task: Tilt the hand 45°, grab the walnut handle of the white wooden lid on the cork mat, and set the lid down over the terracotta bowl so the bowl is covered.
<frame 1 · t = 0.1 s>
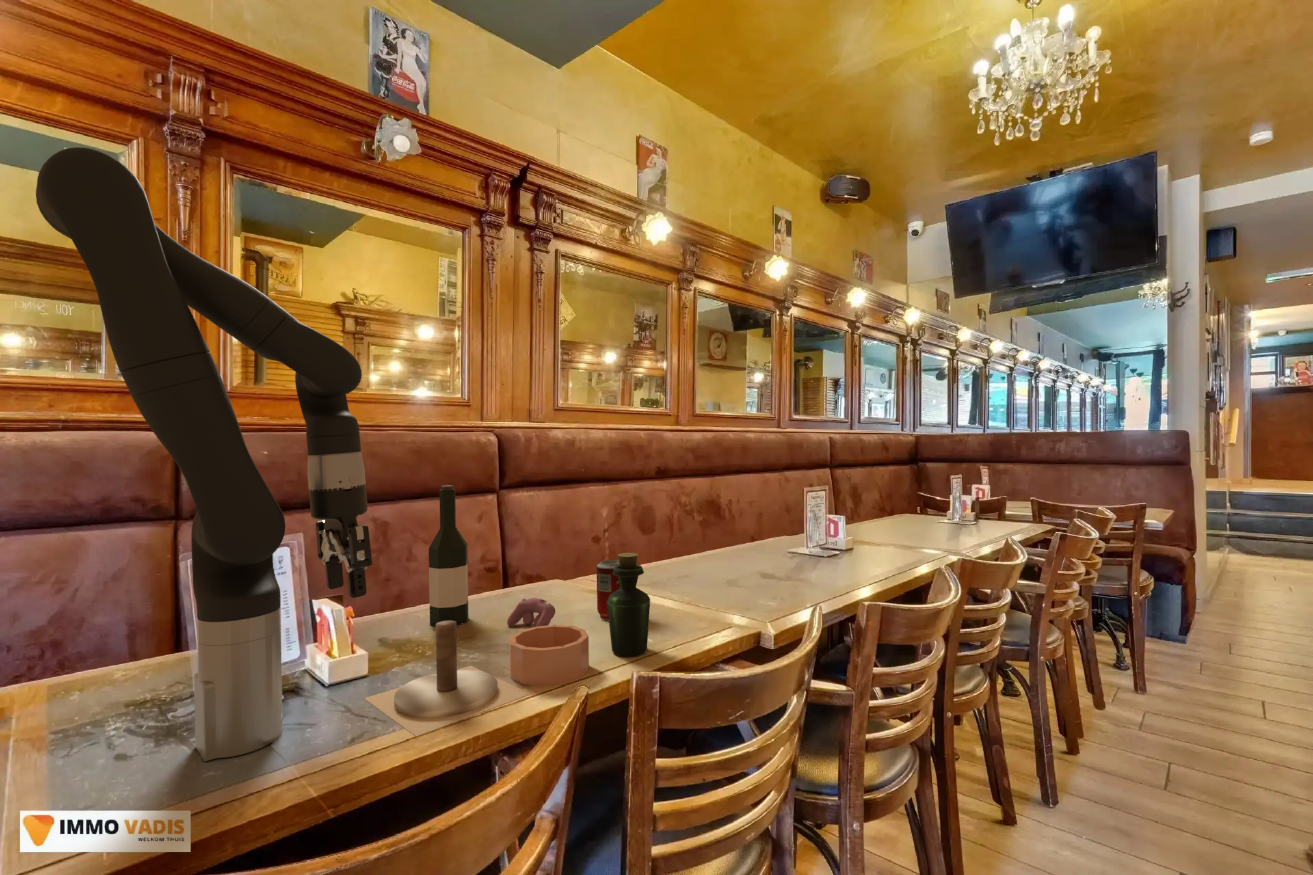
hand: (346, 591, 91), 17 cm above the table, tool pointing down, fingers open, 8 cm apart
potion bottle: (629, 652, 113), on the table
lid: (447, 696, 94), resting on cork mat
cork mat: (447, 698, 94), on the table
soda can: (613, 617, 136), on the table
wine bottle: (449, 622, 134), on the table
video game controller: (531, 627, 130), on the table
bowl: (549, 671, 104), on the table
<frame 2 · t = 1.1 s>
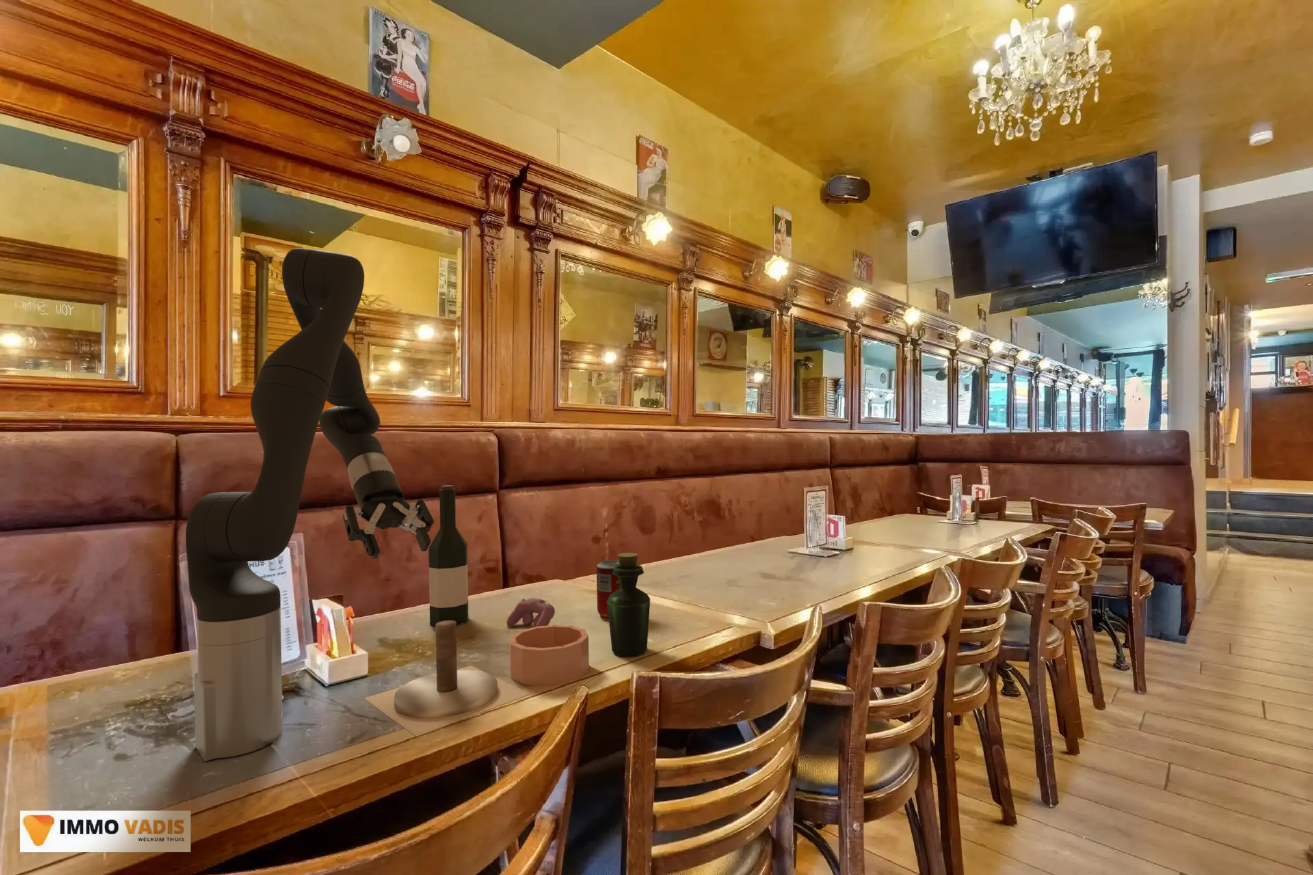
hand: (402, 551, 105), 21 cm above the table, tool tilted 45°, fingers open, 8 cm apart
nothing on the table moved.
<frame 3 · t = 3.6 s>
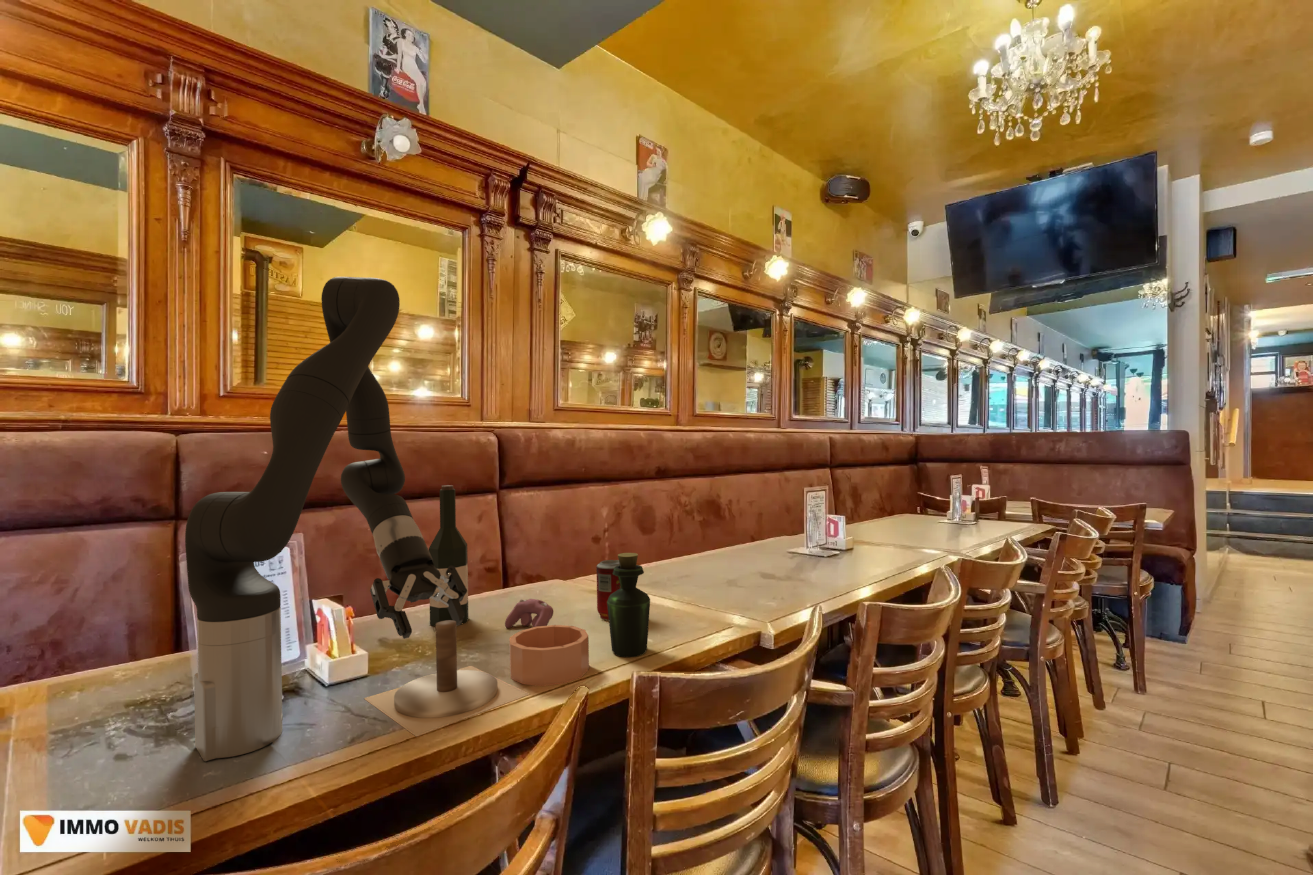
hand: (434, 628, 96), 10 cm above the table, tool tilted 45°, fingers open, 8 cm apart
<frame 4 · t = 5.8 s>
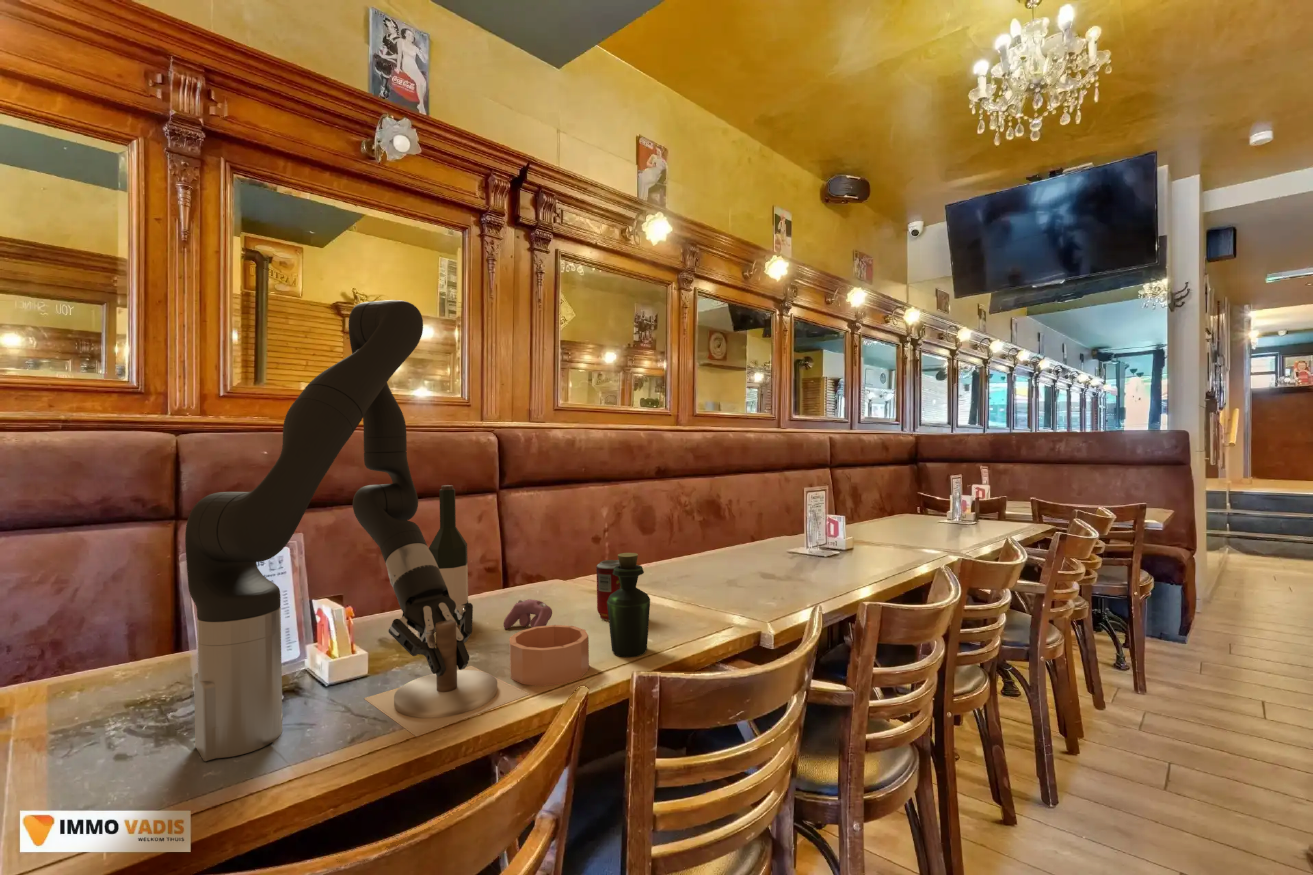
hand: (453, 669, 92), 5 cm above the table, tool tilted 45°, fingers closed on lid, 3 cm apart
lid: (447, 695, 94), resting on cork mat, touching gripper
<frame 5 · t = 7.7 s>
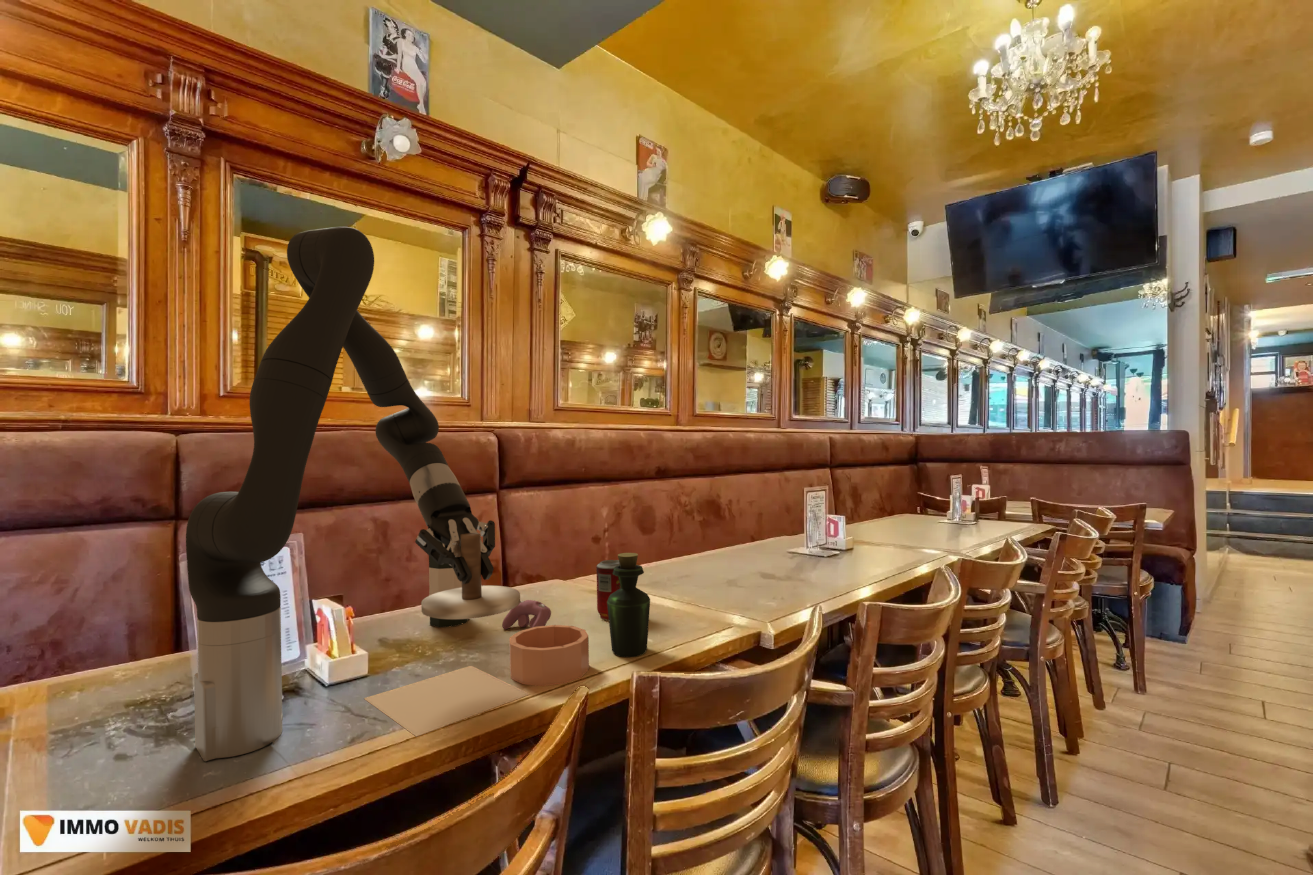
hand: (478, 578, 95), 18 cm above the table, tool tilted 45°, fingers closed on lid, 3 cm apart
lid: (472, 604, 97), point 14 cm above the table, touching gripper
when the fingers open (12 cm above the table, at t = 9.9 s): lid drops 1 cm, resting on bowl.
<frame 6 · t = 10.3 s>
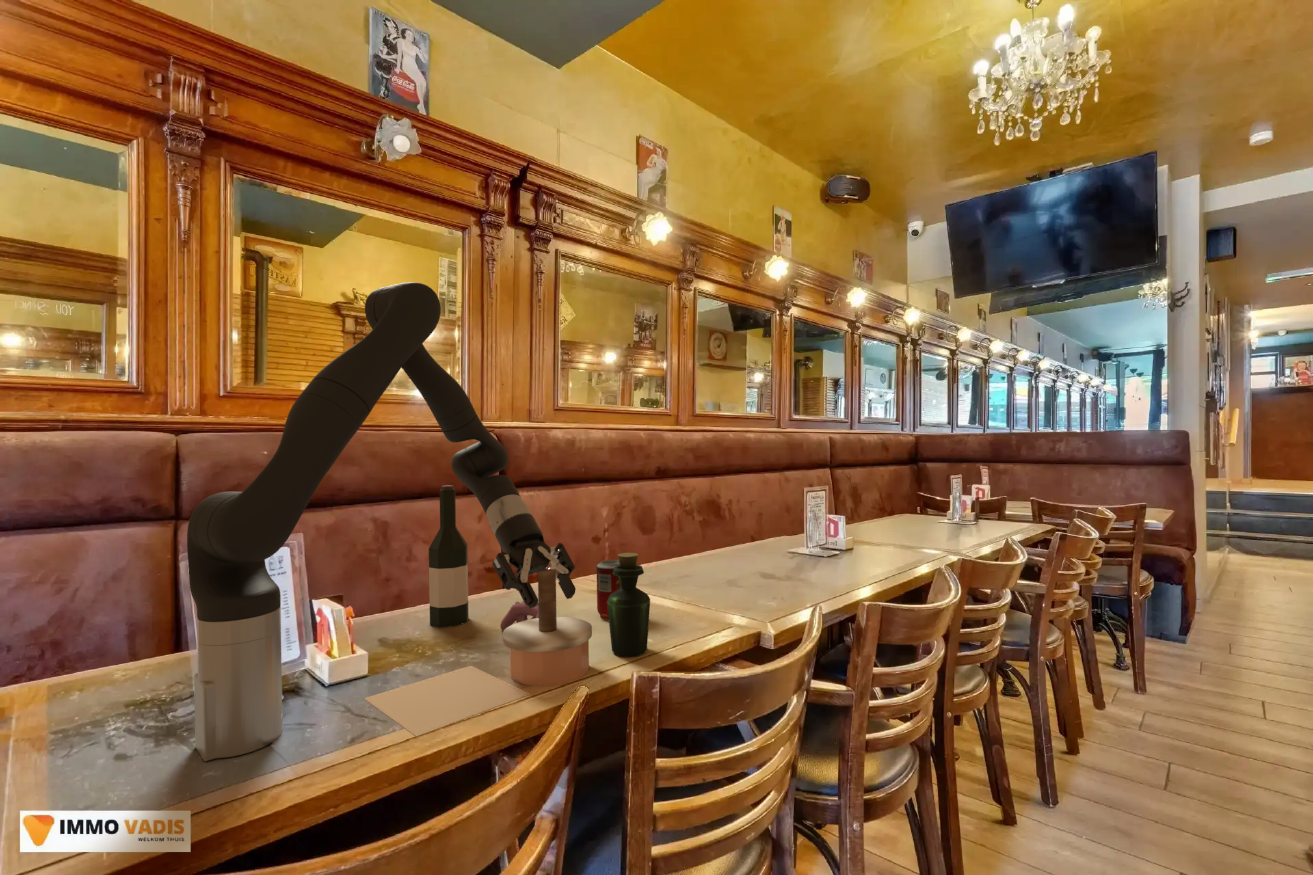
hand: (553, 600, 103), 12 cm above the table, tool tilted 45°, fingers open, 7 cm apart
lid: (547, 636, 104), point 6 cm above the table, touching bowl
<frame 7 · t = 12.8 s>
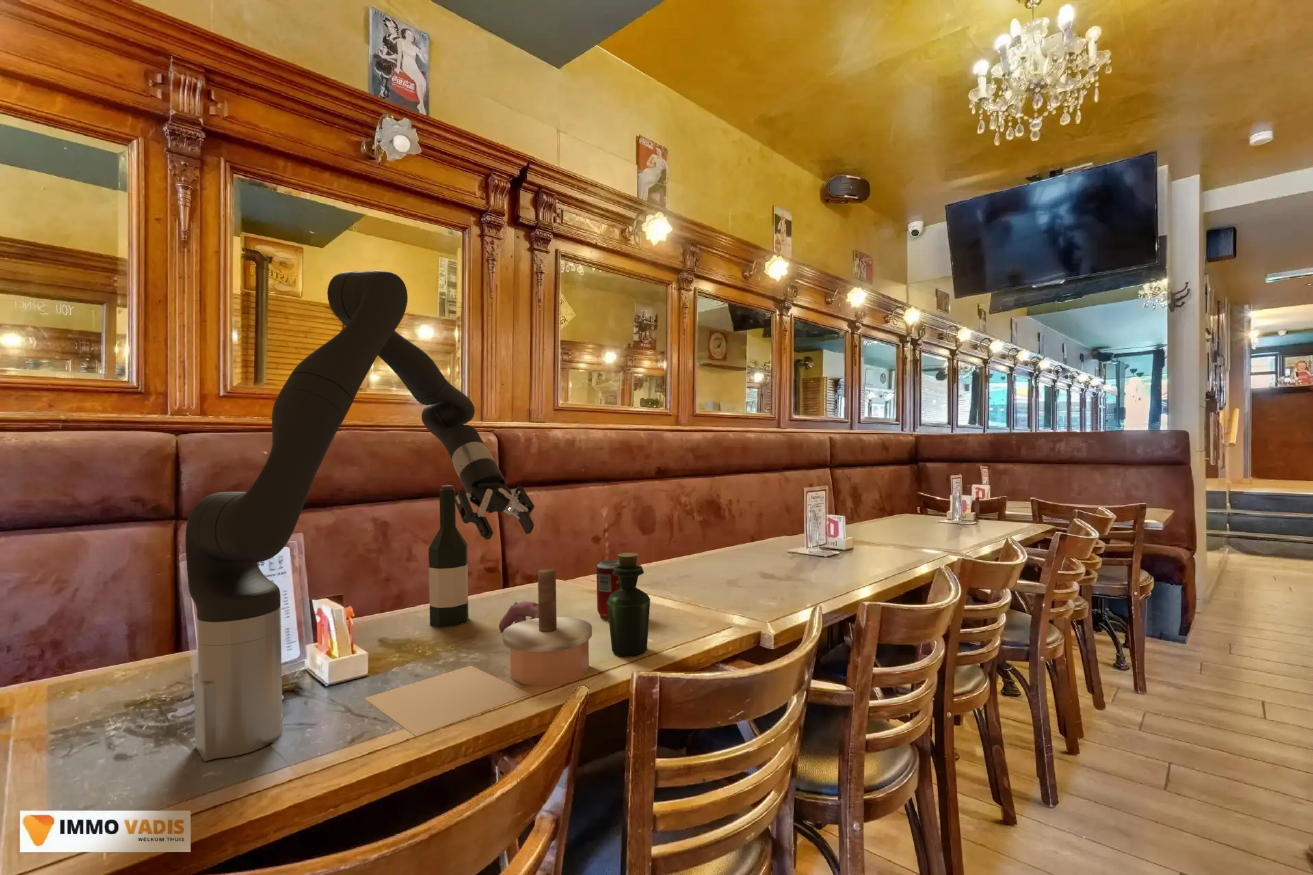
hand: (510, 533, 112), 22 cm above the table, tool tilted 45°, fingers open, 8 cm apart
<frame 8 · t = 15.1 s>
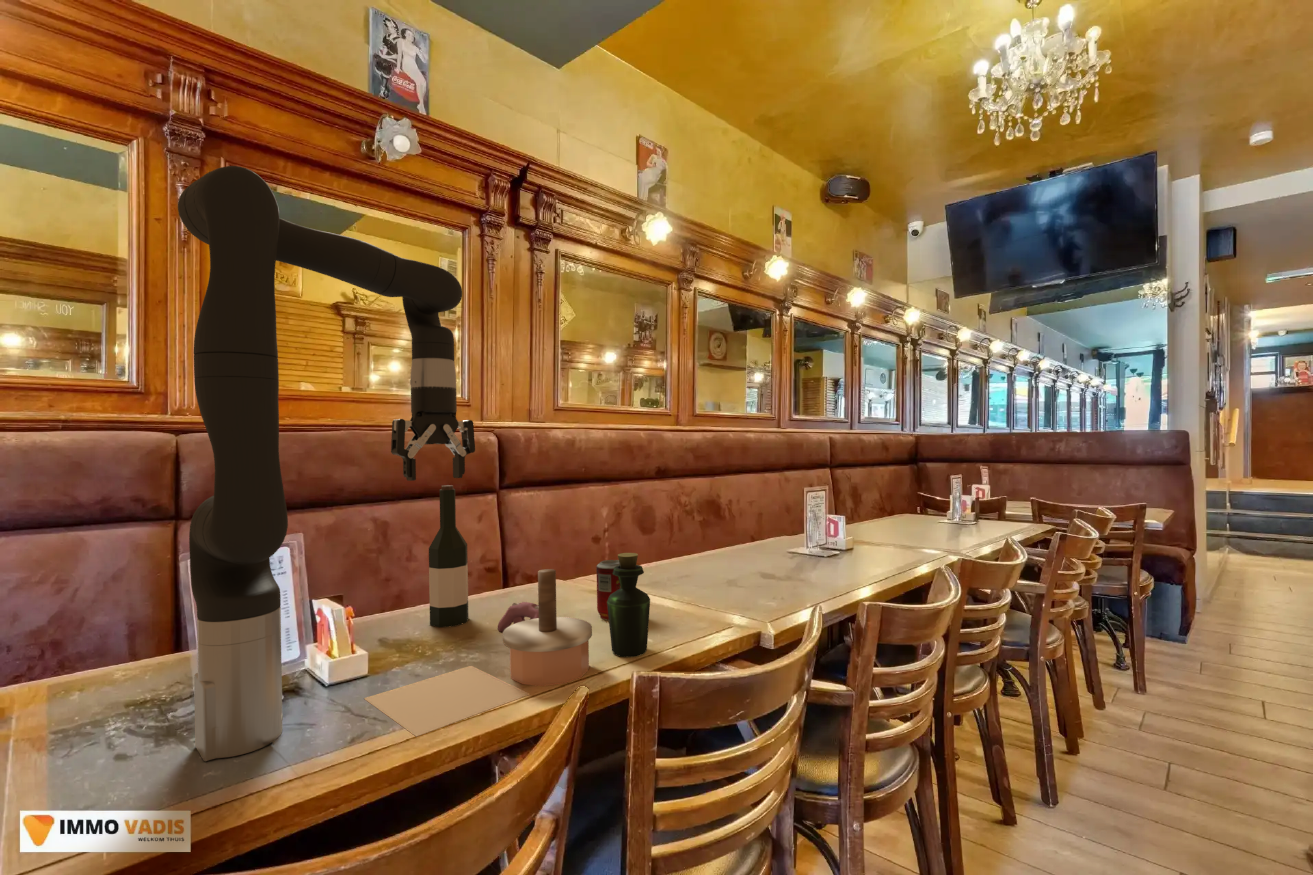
hand: (435, 479, 106), 33 cm above the table, tool pointing down, fingers open, 8 cm apart
at the end: lid 0.2 cm off-centre on the bowl, point 6.0 cm above the bowl's base; lid tilted 0°; the gripper is holding nothing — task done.
